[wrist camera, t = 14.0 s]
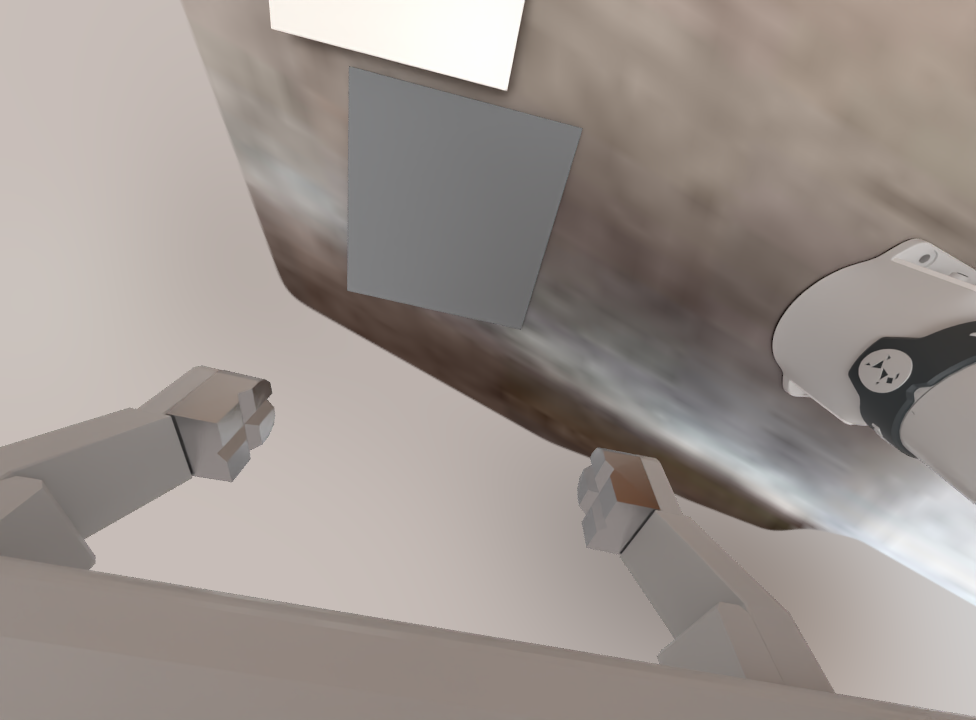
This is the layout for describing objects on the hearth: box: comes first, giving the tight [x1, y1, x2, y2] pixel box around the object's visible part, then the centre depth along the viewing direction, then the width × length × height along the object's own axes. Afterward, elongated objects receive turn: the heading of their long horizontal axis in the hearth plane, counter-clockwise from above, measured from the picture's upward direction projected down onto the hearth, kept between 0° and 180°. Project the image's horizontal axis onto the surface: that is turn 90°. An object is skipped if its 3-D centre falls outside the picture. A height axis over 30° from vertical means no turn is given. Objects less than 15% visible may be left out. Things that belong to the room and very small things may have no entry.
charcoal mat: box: [347, 66, 583, 330], centre depth 36 cm, size 20×20×1 cm
